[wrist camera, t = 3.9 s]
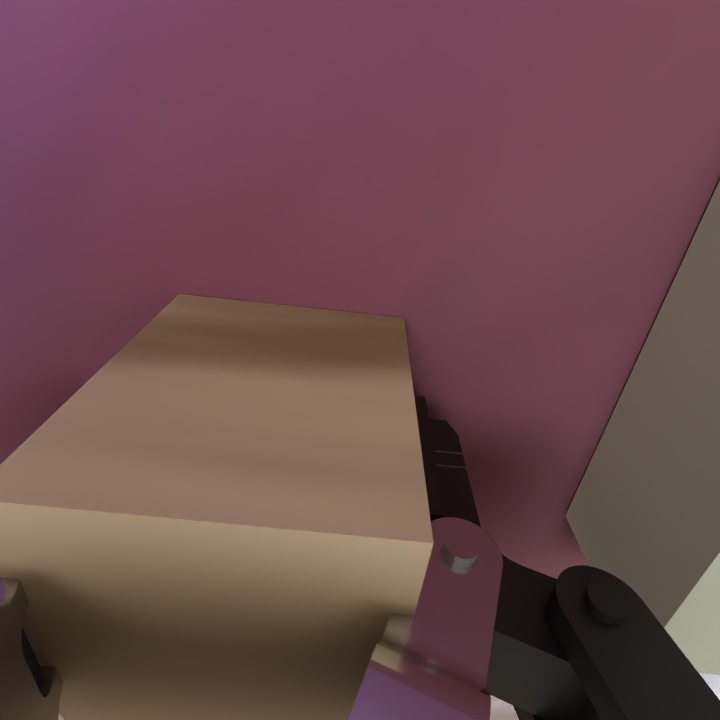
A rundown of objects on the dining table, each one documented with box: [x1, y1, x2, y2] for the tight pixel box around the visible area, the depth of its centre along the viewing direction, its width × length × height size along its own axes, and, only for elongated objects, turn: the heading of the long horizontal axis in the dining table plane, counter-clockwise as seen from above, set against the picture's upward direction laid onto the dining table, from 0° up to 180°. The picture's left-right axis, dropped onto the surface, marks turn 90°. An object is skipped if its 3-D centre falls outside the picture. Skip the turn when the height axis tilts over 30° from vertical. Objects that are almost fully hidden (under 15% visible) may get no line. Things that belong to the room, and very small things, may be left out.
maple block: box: [0, 294, 433, 720], centre depth 9 cm, size 5×5×6 cm
